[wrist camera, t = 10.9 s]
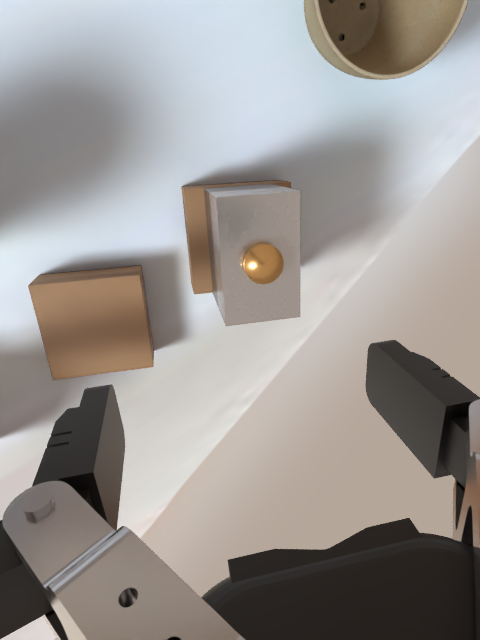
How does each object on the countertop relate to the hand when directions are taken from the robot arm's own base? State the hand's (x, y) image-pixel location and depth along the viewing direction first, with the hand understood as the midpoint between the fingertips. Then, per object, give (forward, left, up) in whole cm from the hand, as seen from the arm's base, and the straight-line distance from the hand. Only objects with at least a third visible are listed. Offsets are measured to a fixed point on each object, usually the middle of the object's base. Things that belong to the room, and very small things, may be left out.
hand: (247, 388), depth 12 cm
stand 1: (+6, -8, -23) cm, 25 cm away
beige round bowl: (-15, +13, -23) cm, 31 cm away
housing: (0, +4, -20) cm, 20 cm away
